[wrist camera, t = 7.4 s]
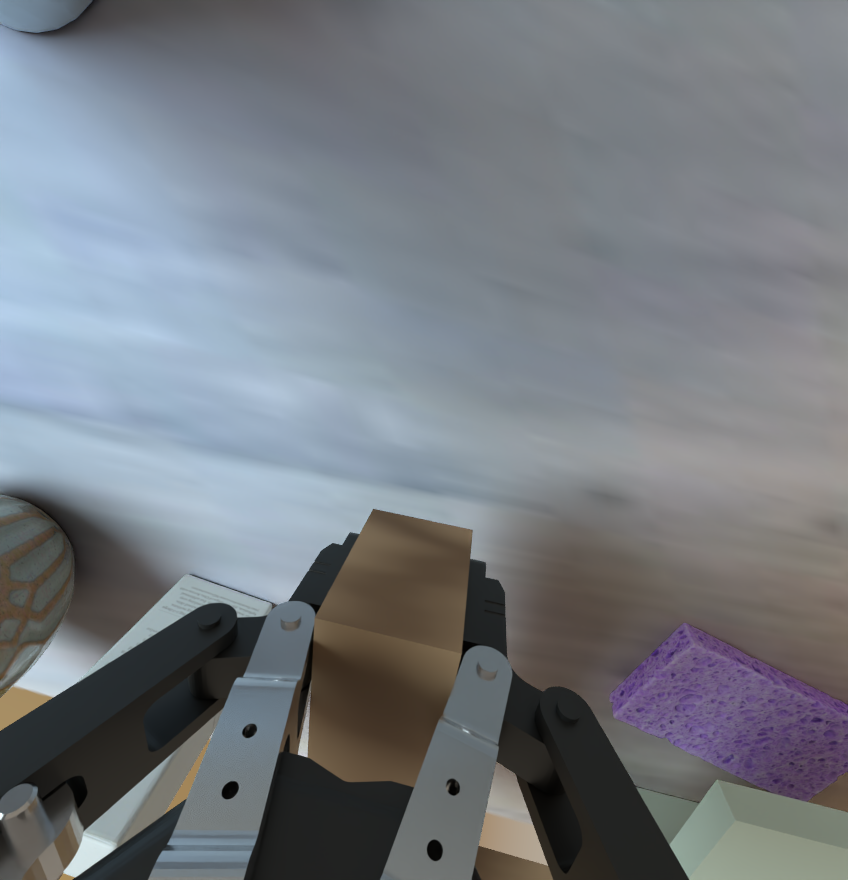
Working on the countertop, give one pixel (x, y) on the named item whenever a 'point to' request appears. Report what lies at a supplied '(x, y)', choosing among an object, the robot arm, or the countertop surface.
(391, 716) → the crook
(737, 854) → the wall shelf
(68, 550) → the vase
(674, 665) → the sponges
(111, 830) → the skincare box
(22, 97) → the countertop surface
